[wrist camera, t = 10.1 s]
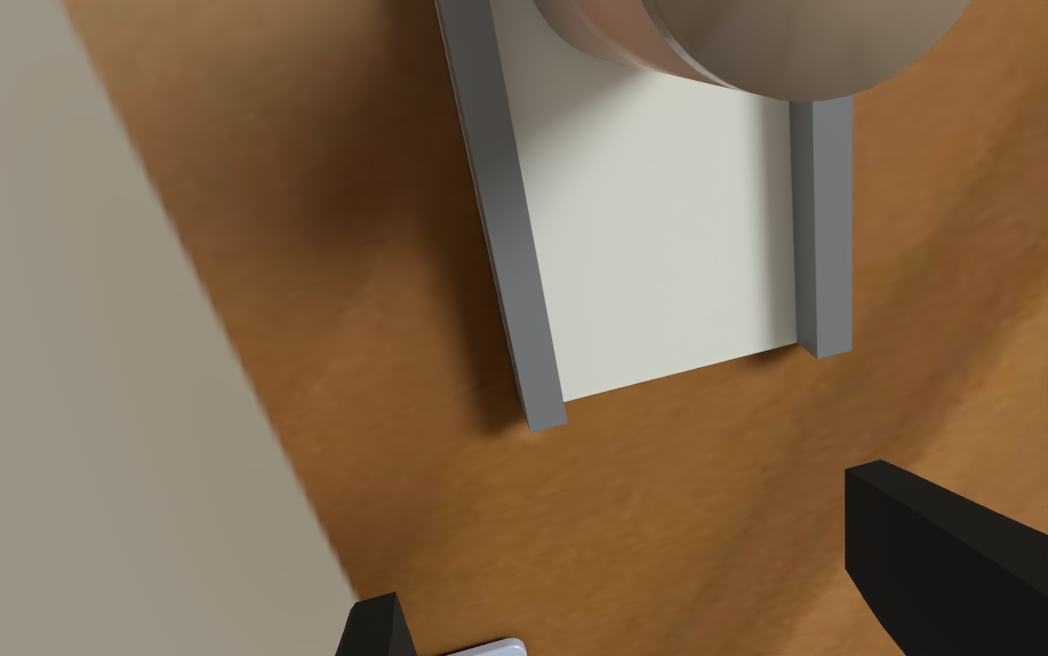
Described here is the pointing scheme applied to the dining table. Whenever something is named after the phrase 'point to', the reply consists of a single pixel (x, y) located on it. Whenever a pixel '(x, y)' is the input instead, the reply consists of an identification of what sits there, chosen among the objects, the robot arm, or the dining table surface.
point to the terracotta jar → (759, 40)
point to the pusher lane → (644, 210)
